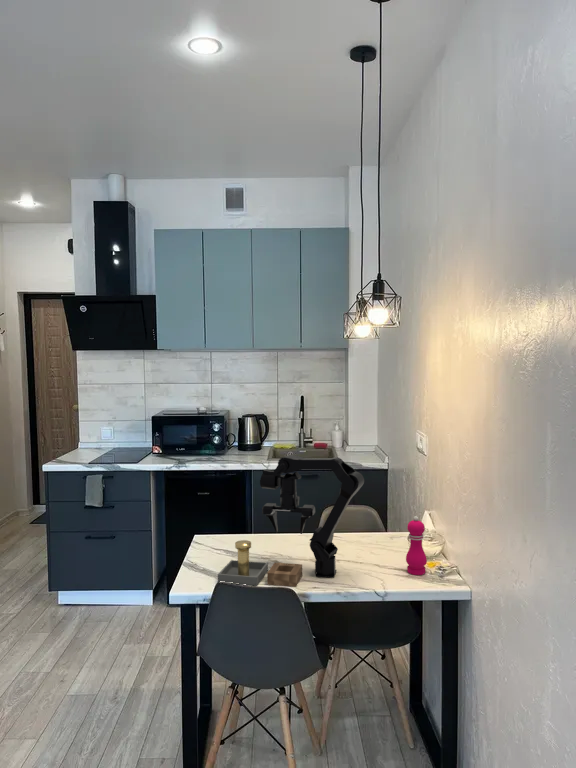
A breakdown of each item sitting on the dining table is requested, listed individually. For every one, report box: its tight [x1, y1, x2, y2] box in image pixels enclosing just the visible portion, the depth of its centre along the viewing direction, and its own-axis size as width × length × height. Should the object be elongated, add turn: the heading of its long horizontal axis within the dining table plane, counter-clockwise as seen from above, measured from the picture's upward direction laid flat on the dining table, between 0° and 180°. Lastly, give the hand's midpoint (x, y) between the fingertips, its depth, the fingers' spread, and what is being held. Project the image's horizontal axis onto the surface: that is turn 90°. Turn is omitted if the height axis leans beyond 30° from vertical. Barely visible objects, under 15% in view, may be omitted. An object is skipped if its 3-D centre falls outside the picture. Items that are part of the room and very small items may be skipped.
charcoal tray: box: [217, 559, 269, 587], centre depth 194 cm, size 14×14×3 cm
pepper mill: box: [405, 515, 428, 576], centre depth 195 cm, size 7×7×20 cm
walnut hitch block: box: [266, 562, 303, 588], centre depth 190 cm, size 10×10×4 cm
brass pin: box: [234, 539, 252, 576], centre depth 193 cm, size 6×6×12 cm
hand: (289, 532), depth 201 cm, fingers open, 9 cm apart
